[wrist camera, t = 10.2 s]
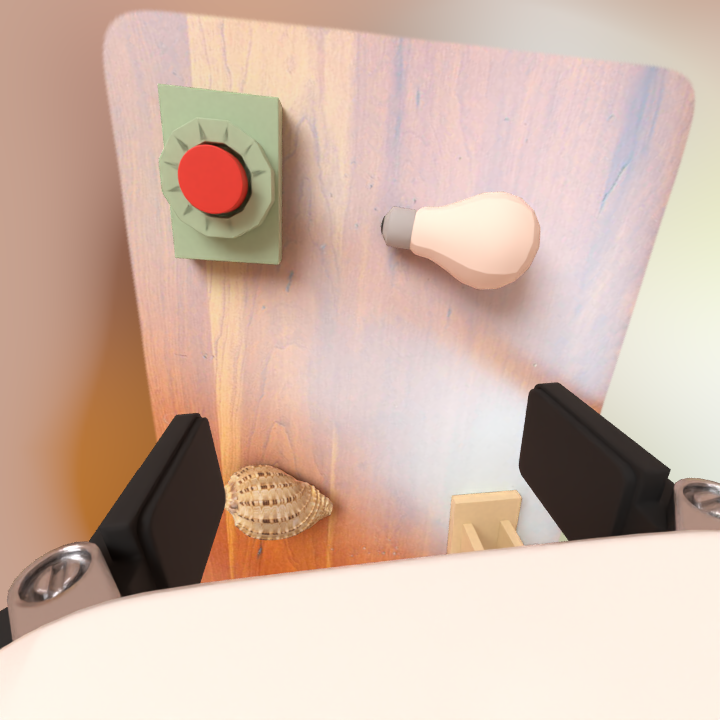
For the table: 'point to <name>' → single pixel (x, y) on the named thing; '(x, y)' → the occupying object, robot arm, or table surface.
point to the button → (212, 179)
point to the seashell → (273, 503)
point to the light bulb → (470, 237)
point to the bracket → (484, 521)
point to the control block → (253, 150)
